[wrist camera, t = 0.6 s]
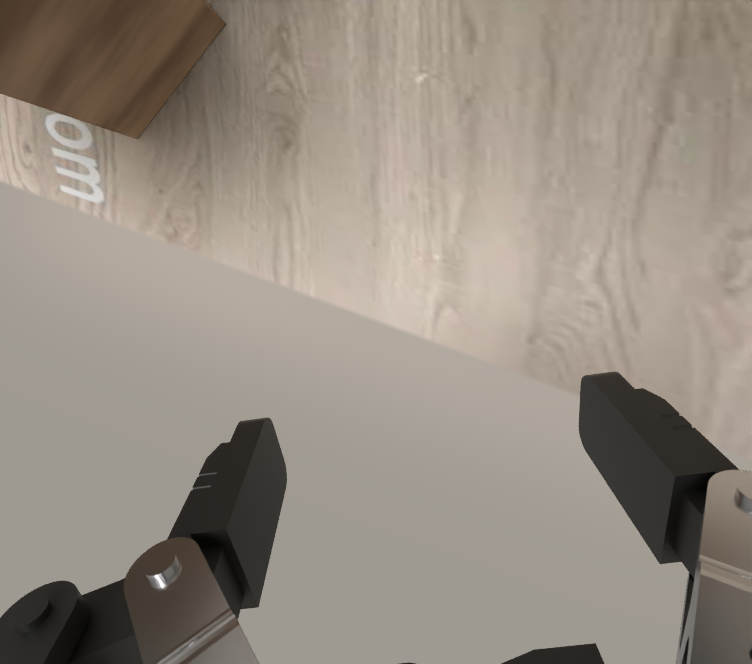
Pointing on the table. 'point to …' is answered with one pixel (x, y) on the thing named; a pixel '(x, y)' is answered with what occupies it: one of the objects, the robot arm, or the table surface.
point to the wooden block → (102, 55)
